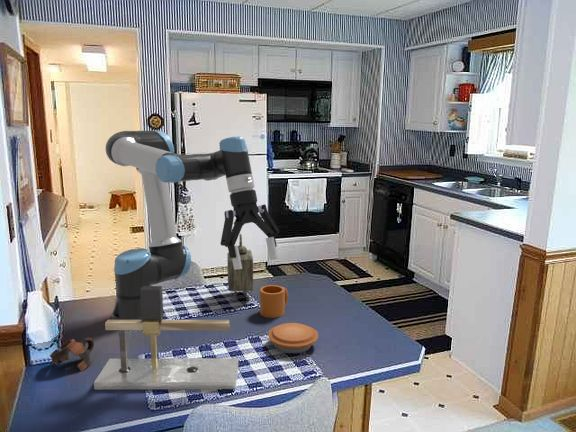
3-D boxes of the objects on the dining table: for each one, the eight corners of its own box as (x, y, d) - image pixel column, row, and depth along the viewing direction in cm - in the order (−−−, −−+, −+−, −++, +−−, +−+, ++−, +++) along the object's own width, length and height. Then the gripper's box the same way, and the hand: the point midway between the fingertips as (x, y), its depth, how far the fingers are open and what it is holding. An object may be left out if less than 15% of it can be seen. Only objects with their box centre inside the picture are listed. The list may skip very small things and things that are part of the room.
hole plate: (110, 365, 130) (109, 358, 130) (238, 364, 132) (238, 358, 131) (94, 389, 119) (93, 382, 118) (235, 388, 120) (235, 381, 120)
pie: (260, 351, 140) (260, 336, 139) (278, 330, 154) (278, 316, 153) (308, 361, 135) (309, 345, 133) (323, 338, 149) (324, 324, 148)
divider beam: (110, 368, 125) (107, 319, 122) (229, 367, 126) (229, 319, 124) (108, 371, 123) (105, 322, 120) (229, 371, 125) (228, 323, 122)
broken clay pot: (75, 379, 124) (57, 355, 123) (57, 383, 129) (40, 360, 128) (107, 349, 134) (91, 326, 132) (90, 354, 139) (74, 332, 137)
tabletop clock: (253, 302, 176) (253, 239, 171) (229, 303, 175) (228, 239, 170) (249, 289, 190) (249, 229, 185) (227, 289, 189) (227, 230, 184)
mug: (296, 312, 168) (297, 289, 166) (267, 320, 162) (268, 296, 160) (283, 303, 175) (283, 281, 173) (255, 310, 169) (255, 287, 167)
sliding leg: (147, 363, 127) (143, 284, 122) (166, 363, 127) (162, 284, 122) (143, 372, 122) (138, 291, 118) (162, 372, 122) (158, 291, 118)
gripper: (214, 193, 121) (230, 273, 121) (282, 184, 139) (295, 254, 139) (198, 198, 127) (213, 274, 126) (265, 189, 144) (279, 256, 144)
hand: (256, 264), depth 132 cm, fingers open, 13 cm apart
